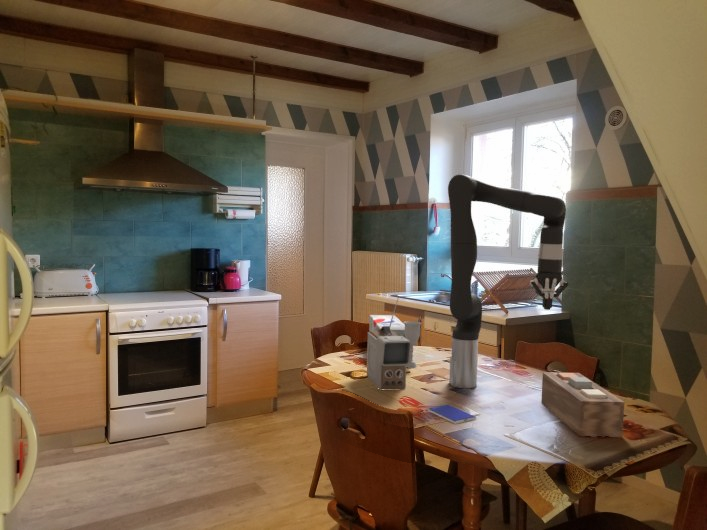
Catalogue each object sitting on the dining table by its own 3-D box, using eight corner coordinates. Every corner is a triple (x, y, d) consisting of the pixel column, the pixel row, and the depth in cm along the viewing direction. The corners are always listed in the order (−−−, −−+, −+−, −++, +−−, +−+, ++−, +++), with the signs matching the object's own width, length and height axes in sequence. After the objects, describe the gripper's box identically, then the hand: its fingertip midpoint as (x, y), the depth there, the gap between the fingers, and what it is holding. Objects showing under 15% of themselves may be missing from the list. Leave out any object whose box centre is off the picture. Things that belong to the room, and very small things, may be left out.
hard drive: (428, 407, 174) (455, 420, 163) (448, 403, 178) (476, 415, 167) (428, 412, 174) (455, 425, 163) (448, 408, 178) (475, 421, 167)
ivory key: (587, 411, 158) (588, 394, 158) (580, 405, 163) (581, 389, 163) (605, 411, 158) (606, 394, 158) (597, 405, 163) (598, 389, 163)
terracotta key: (562, 391, 176) (563, 376, 176) (556, 387, 181) (557, 372, 181) (578, 392, 176) (579, 377, 176) (572, 387, 181) (572, 372, 181)
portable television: (380, 393, 190) (383, 306, 188) (365, 374, 214) (366, 296, 211) (414, 392, 193) (417, 305, 191) (395, 373, 216) (397, 296, 214)
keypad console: (579, 436, 155) (581, 401, 154) (541, 402, 185) (542, 372, 184) (622, 437, 155) (624, 401, 155) (577, 402, 185) (579, 372, 185)
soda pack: (409, 361, 236) (410, 329, 235) (379, 361, 235) (380, 329, 234) (394, 341, 276) (395, 313, 275) (368, 341, 275) (369, 313, 274)
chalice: (422, 366, 228) (424, 322, 227) (415, 369, 223) (416, 324, 221) (406, 363, 232) (408, 320, 231) (399, 366, 226) (400, 322, 225)
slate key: (574, 397, 167) (575, 381, 167) (568, 392, 172) (568, 376, 172) (591, 397, 167) (592, 381, 167) (584, 392, 172) (585, 377, 172)
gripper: (534, 257, 182) (530, 310, 184) (574, 259, 182) (571, 311, 184) (526, 256, 190) (523, 306, 191) (565, 257, 190) (562, 308, 191)
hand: (547, 309), depth 187 cm, fingers closed
